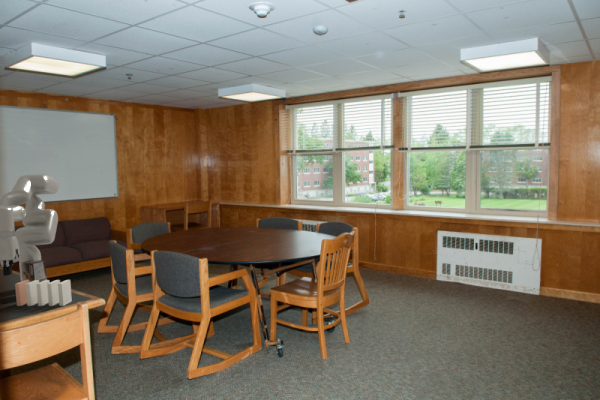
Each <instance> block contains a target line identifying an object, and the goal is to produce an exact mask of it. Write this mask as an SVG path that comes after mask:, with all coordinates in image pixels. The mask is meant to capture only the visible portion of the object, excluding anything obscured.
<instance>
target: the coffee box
mask: <svg viewBox="0 0 600 400" xmlns="http://www.w3.org/2000/svg"><path fill="white" fill-rule="evenodd" d="M21 266H22V277H23V281H24V280H29V282H32V281H34V280H39V283H40V282H42V281H45V280H48V279H47V270H46V269H47V268H46V261H45V260H42V259H41V260H30V261H25V262H22V263H21Z"/></svg>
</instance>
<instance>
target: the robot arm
mask: <svg viewBox="0 0 600 400" xmlns="http://www.w3.org/2000/svg"><path fill="white" fill-rule="evenodd" d="M58 190H59V183H58V181H57V179H55V178H54V177H52V176H50V175H47V174H24V175H21V176H20V177H18V179H17V180H16V183H15V184H14V186H13V187H12V189H11V191H8V192H6V193H4V194H3V195H1V196H0V267H1V268H2V273H3V276H5V277H6V276H11V275H12V274H13V266H14V264H15V263H17V262H18V263H19V264H18V265H19V274H20V275H19V277H20V282H22V281H23V277H22V266H21V263H22V262H25V261H30V260H41V261H42V255H41V254H42V253H41V251H40V249H39V248H38V247H37V246H40V245H41V246H42V245H50V244H52V243H53V242H54V241H55V239H56V233H57V227H58V224H59V223H58V222H59V215H58V213H57V211H56V210H55V209H51V208H45V207H46V204H45V202H44V200H43V199H41V198H40V197H39V196H38V195H54V194H56V193H57V192H58ZM22 204H25V207H23V206H22ZM21 221H22V224H23V227H20V228H18V229H17V230H15V222H21Z"/></svg>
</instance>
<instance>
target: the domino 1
mask: <svg viewBox="0 0 600 400" xmlns="http://www.w3.org/2000/svg"><path fill="white" fill-rule="evenodd" d="M27 283H29V280H24V281H22V282H21V281H20V282H17V283H15V284H14V287H15V297H16V298H15V300H16V306H17V307H21V306H24V305H27V294H26V284H27Z"/></svg>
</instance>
